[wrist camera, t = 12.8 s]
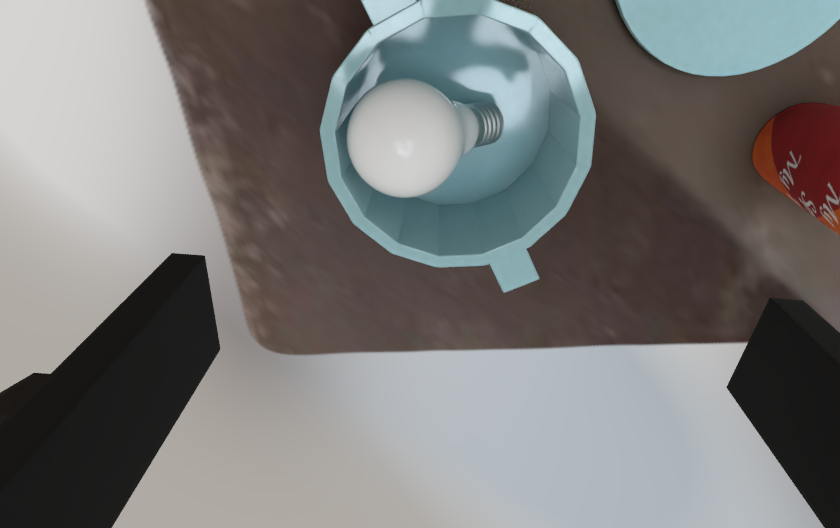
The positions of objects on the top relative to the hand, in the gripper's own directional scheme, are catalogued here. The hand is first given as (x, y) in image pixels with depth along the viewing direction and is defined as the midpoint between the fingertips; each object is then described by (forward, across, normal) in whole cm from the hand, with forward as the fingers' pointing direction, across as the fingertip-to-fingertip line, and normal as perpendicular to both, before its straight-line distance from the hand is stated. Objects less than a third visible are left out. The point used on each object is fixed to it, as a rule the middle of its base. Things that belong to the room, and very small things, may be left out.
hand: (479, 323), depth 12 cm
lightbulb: (+23, +3, -1) cm, 24 cm away
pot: (+25, 0, -1) cm, 25 cm away
